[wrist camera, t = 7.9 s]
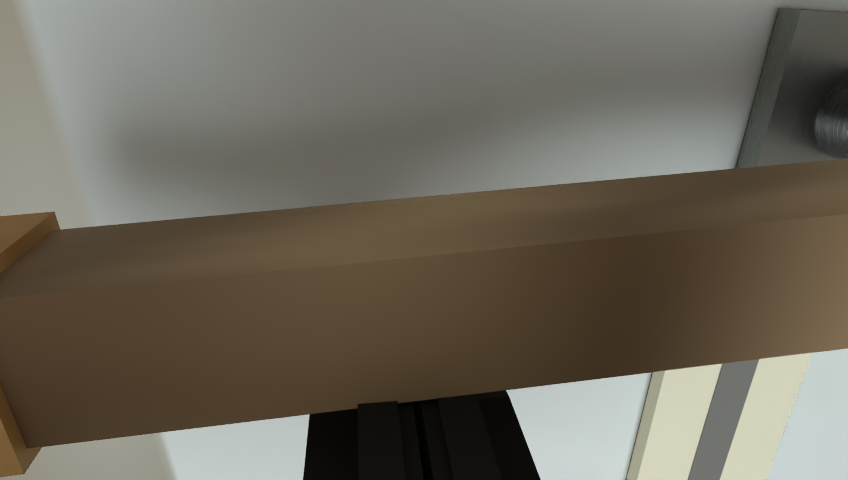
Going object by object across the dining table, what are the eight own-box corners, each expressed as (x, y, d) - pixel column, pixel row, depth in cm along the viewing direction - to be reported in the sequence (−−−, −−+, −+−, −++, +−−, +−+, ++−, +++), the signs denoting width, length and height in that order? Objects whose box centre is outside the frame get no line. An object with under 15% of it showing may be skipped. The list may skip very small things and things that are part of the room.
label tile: (667, 314, 18) (677, 324, 18) (811, 311, 19) (825, 322, 19) (625, 483, 21) (633, 497, 21) (752, 476, 22) (764, 489, 21)
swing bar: (1275, 69, 10) (1549, 93, 7) (1175, 265, 11) (1379, 335, 9) (-121, 182, 8) (-304, 260, 6) (-22, 403, 9) (-138, 534, 7)
